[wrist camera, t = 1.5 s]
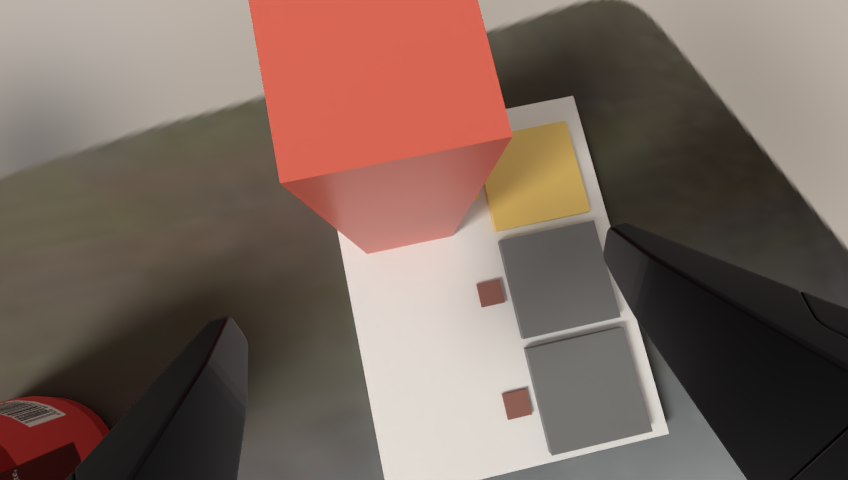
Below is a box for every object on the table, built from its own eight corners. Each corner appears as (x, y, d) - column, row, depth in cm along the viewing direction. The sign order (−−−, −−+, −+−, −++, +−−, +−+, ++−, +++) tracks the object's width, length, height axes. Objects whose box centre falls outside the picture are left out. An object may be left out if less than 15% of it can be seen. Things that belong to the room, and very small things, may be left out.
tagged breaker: (586, 213, 21) (590, 211, 20) (494, 232, 21) (496, 230, 20) (562, 124, 21) (565, 120, 21) (472, 142, 21) (474, 139, 21)
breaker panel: (659, 428, 20) (675, 437, 19) (389, 493, 19) (388, 507, 18) (567, 102, 22) (576, 91, 21) (325, 151, 22) (319, 142, 20)
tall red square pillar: (452, 235, 20) (512, 135, 8) (367, 253, 20) (280, 183, 7) (433, 154, 21) (460, -67, 8) (350, 171, 21) (243, -29, 8)
